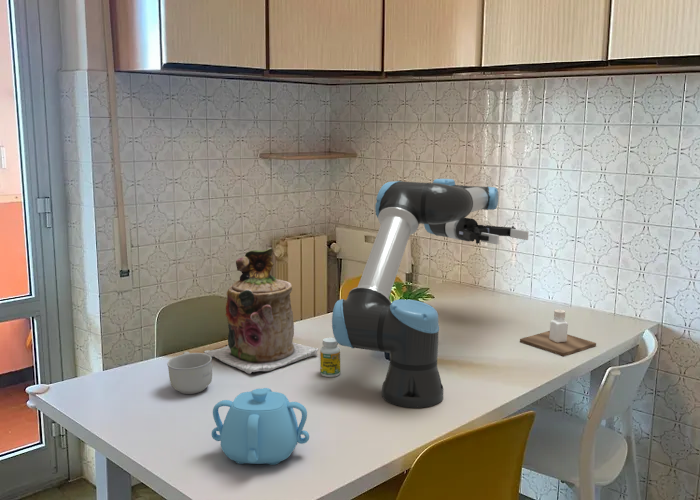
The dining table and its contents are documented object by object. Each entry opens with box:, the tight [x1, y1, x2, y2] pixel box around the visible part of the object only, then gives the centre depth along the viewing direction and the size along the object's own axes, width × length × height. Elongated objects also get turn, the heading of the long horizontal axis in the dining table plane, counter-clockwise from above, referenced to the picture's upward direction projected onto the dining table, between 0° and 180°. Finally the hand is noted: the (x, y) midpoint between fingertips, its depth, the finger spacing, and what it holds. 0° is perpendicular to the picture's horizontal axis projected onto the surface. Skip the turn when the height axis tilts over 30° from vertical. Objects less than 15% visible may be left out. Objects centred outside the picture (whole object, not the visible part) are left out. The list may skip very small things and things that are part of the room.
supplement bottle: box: [319, 337, 341, 378], centre depth 182 cm, size 5×5×10 cm
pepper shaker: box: [549, 309, 569, 343], centre depth 208 cm, size 4×4×10 cm
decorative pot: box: [211, 387, 310, 466], centre depth 138 cm, size 16×16×14 cm
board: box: [519, 330, 597, 357], centre depth 209 cm, size 16×16×1 cm
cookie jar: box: [203, 247, 320, 374], centre depth 194 cm, size 25×25×32 cm
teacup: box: [166, 351, 213, 395], centre depth 172 cm, size 14×11×8 cm
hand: (513, 237), depth 208 cm, fingers open, 13 cm apart
